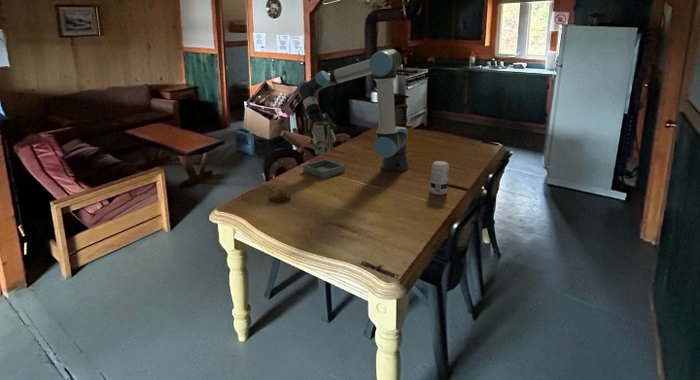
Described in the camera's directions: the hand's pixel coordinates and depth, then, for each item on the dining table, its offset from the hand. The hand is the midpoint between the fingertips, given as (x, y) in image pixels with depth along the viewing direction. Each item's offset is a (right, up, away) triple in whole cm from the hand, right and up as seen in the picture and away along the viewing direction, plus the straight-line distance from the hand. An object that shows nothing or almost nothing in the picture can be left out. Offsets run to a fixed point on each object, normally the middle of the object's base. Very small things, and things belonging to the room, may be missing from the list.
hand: (325, 141), depth 263 cm
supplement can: (+57, -27, -18) cm, 65 cm away
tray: (-1, -16, +9) cm, 18 cm away
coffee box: (-2, -5, +5) cm, 7 cm away
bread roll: (-20, -31, -29) cm, 47 cm away
